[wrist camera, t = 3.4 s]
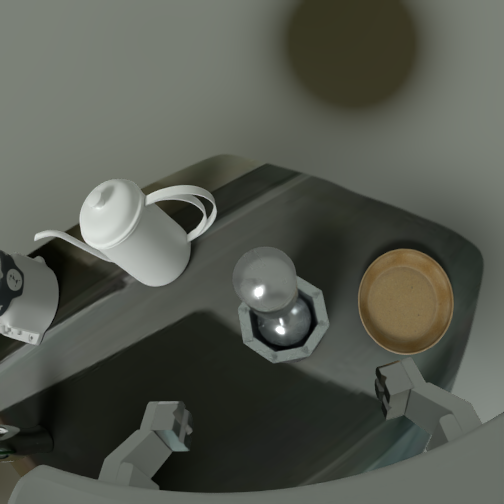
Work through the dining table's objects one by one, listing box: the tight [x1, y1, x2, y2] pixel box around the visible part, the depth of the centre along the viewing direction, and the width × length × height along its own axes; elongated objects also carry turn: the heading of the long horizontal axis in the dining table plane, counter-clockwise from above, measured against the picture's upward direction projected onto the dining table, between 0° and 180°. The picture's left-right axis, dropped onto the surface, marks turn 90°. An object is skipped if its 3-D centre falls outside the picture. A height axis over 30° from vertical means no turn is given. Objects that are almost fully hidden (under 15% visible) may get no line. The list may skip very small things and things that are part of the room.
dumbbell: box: [233, 247, 311, 346], centre depth 23 cm, size 5×5×17 cm
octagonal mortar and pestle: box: [238, 275, 329, 363], centre depth 34 cm, size 9×11×12 cm
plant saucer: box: [358, 249, 454, 355], centre depth 37 cm, size 15×15×3 cm
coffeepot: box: [34, 179, 217, 286], centre depth 38 cm, size 11×25×19 cm, turn 104°
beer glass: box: [0, 425, 53, 462], centre depth 31 cm, size 7×7×15 cm
